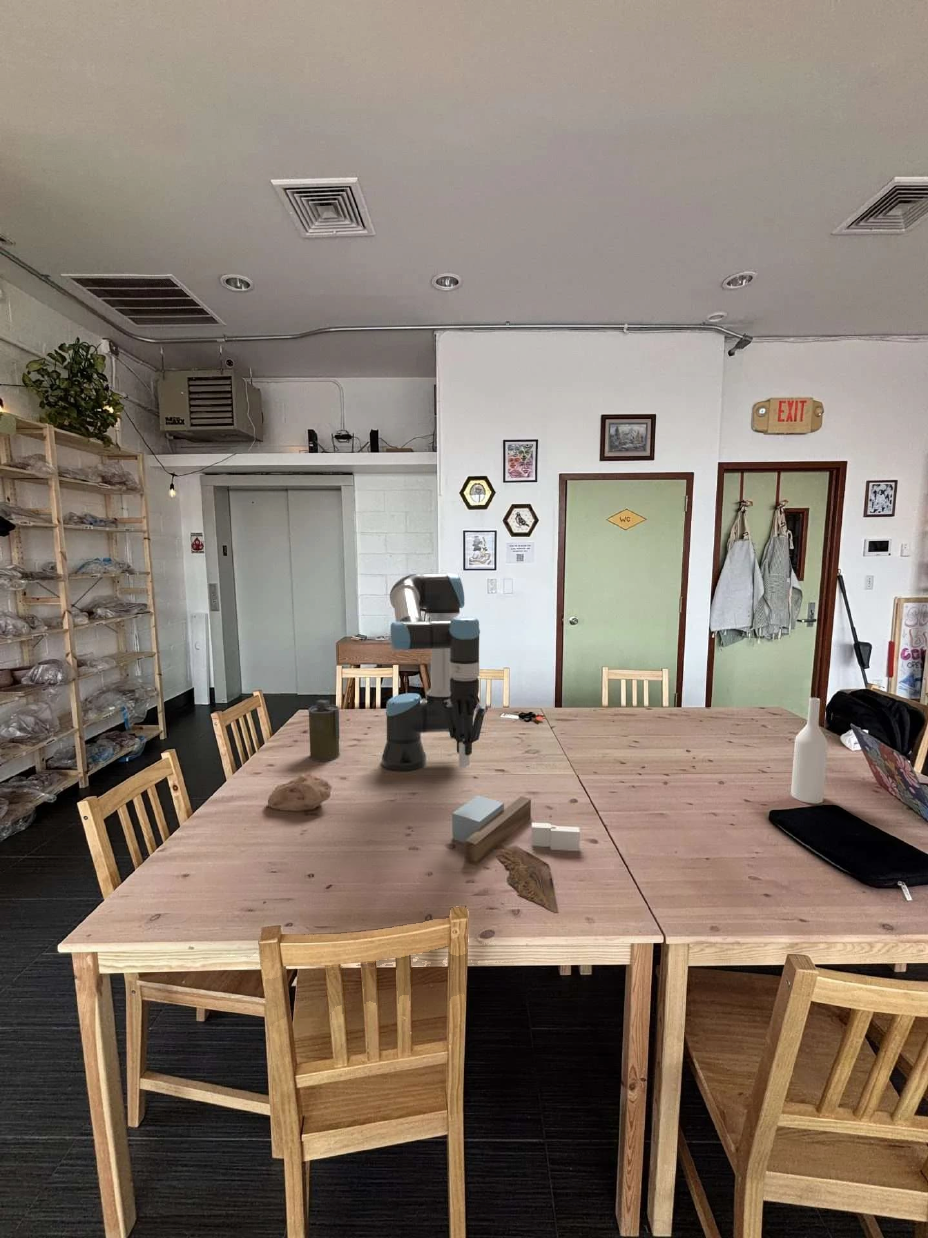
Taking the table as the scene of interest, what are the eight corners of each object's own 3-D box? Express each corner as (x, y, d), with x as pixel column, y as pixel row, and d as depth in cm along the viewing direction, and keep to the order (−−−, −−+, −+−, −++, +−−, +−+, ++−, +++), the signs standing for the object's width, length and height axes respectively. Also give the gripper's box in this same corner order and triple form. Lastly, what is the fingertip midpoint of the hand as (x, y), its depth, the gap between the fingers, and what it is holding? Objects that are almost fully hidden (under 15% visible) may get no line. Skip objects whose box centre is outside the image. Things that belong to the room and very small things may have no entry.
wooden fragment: (491, 849, 132) (491, 845, 132) (534, 844, 134) (534, 840, 134) (524, 919, 107) (524, 914, 107) (576, 911, 109) (576, 906, 109)
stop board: (464, 860, 127) (464, 840, 126) (520, 813, 150) (521, 796, 149) (475, 864, 125) (475, 844, 125) (530, 816, 148) (530, 799, 148)
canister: (303, 759, 189) (301, 703, 187) (321, 749, 199) (320, 696, 196) (329, 763, 185) (327, 706, 183) (346, 753, 195) (345, 699, 192)
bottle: (795, 789, 166) (802, 693, 162) (826, 797, 160) (834, 698, 156) (787, 797, 160) (794, 698, 156) (819, 806, 154) (827, 704, 151)
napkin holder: (592, 849, 133) (592, 827, 132) (566, 868, 125) (566, 844, 124) (542, 827, 143) (542, 807, 143) (515, 844, 135) (515, 822, 134)
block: (452, 839, 137) (452, 813, 136) (477, 820, 146) (477, 795, 146) (479, 849, 132) (479, 821, 131) (503, 828, 142) (503, 803, 141)
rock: (335, 798, 159) (334, 766, 158) (328, 814, 149) (327, 780, 148) (272, 799, 158) (271, 767, 157) (261, 816, 148) (259, 781, 147)
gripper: (435, 677, 139) (435, 765, 142) (478, 684, 132) (477, 776, 135) (452, 671, 145) (452, 756, 148) (493, 678, 138) (493, 766, 141)
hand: (464, 765), depth 142 cm, fingers closed
